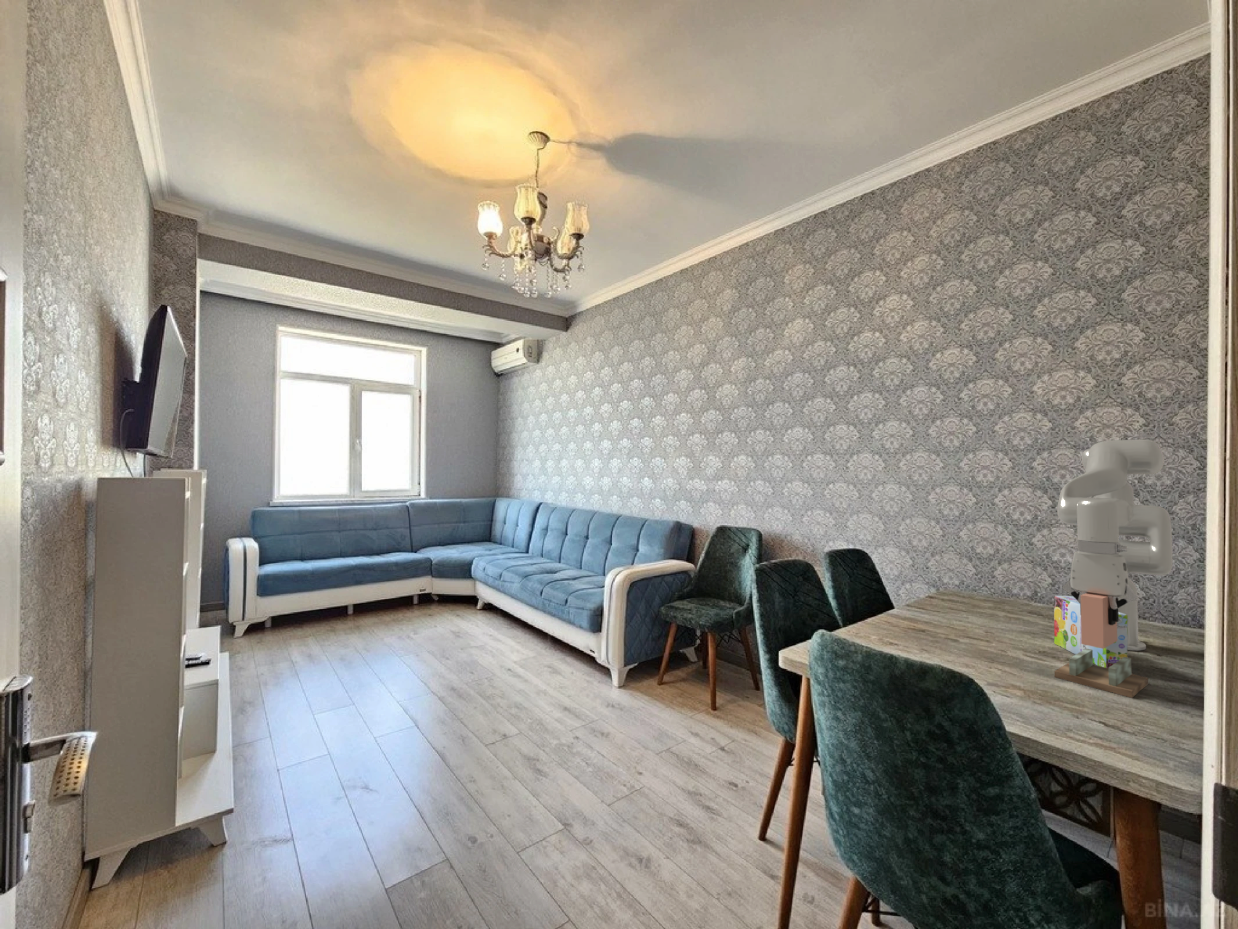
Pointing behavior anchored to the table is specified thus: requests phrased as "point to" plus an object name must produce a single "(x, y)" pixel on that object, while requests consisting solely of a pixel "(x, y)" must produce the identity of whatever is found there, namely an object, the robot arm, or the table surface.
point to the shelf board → (1102, 674)
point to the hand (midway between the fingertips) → (1099, 621)
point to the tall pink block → (1096, 621)
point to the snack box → (1070, 632)
